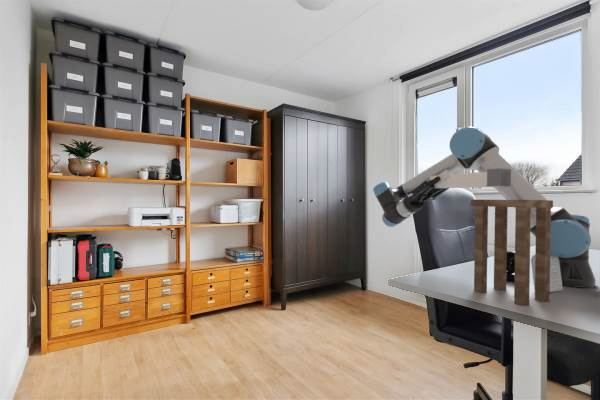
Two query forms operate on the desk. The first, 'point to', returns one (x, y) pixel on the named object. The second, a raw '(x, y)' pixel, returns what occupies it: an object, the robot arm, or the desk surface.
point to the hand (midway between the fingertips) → (452, 173)
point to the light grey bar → (478, 179)
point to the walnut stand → (520, 247)
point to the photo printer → (551, 273)
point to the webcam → (510, 266)
